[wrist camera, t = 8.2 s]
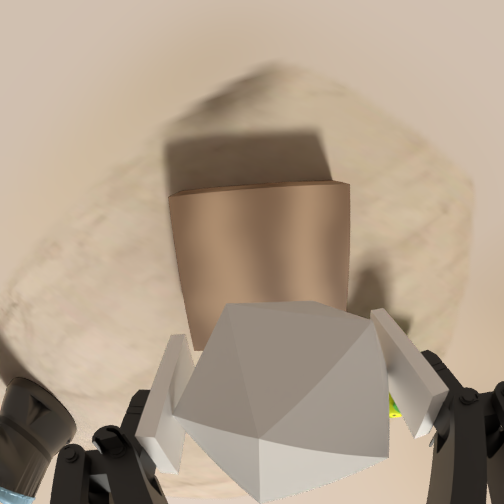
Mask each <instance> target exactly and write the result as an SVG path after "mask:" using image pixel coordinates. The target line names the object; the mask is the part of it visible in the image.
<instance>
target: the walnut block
mask: <svg viewBox="0 0 504 504" xmlns="http://www.w3.org/2000/svg"><path fill="white" fill-rule="evenodd" d="M168 198H169V207H170V215H171V222H172V230H173V237H174V244H175V250H176V257H177V263H178V269H179V275H180V281H181V287H182V292H183V298H184V303H185V308H186V313H187V318H188V323H189V328H190V333H191V338H192V342H193V347H194V351H203V350H204V348H205V346H206V344H207V342H208V340H209V338H210V336H211V334H212V332H213V330H214V328H215V326H216V324H217V322H218V320H219V318H220V316H221V313H222V311H223V309H224V307H225V305H226V303H264V302H291V301H312V300H313V301H316V302H319V303H322V304H324V305H327V306H330V307H333V308H336V309H339V310H342V311H345V312H346V309H347V295H348V279H349V256H350V184H347V183H343V182H338V181H334V180H323V181H298V182H279V183H263V184H249V185H236V186H225V187H214V188H204V189H195V190H186V191H180V192H178V193H176V194H174V195H172V196H169V197H168Z"/></svg>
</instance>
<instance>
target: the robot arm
mask: <svg viewBox="0 0 504 504" xmlns="http://www.w3.org/2000/svg"><path fill="white" fill-rule="evenodd" d="M370 320H373V323H374V326H375V329H376V332H377V335H378V339H379V342H380V345H381V349H382V352H383V355H384V359H385V363H386V366H387V370H388V386H389V393H390V394H391V396H392V398H393V400H394V402H395V404H396V405H397V407H398V409H399V411H400V413H401V415H402V417H403V418H404V420H405V422H406V424H407V426H408V428H409V430H410V432H411V434H412V435H413V437H414V439H416V438H418V437H421V436H423V435H425V434H428V433H429V432H430V430H431V429H432V427H433V425H434V427H435V428H436V430H437V431H436V433H435V435H434V437H433V439H432V440H431V442H430V445H429V447H431V446H432V445H433V443H434V450H433V461H432V470H431V478H430V485H429V491H428V497H427V503H426V504H486V494H487V484H488V487H489V493H490V498H491V503H492V504H504V381H502V382H500V383H498V384H497V386H496V387H495V389H494V391H493V392H487V393H481V394H479V393H478V392H477V391H476V390H474V389H472V388H467V387H466V388H464V387H462V385H461V384H460V383H459V381H458V380H457V379H456V378H455V376H454V375H453V374H452V373H451V372H450V370H449V369H448V368H447V367H446V365H445V364H444V363H442V361H441V359H440V358H439V357H438V356H437V355H436V354H434V353H433V352H431V351H429V350H426V351H423V352H420V351H419V350H418V349H417V348H416V346H415V345H414V344H413V343H412V341H411V340H410V339H409V338H408V336H407V335H406V334H405V333H404V332H403V330H402V329H401V328H400V327H399V326H398V324H397V323H396V322H395V321H394V320H393V318H392V317H391V316H390V315H389V314H388V313H387V311H386V310H385V309H384V308H380V309H375V310H371V311H370ZM194 369H195V367H194V363H193V360H192V357H191V353H190V350H189V346H188V343H187V339H186V335H185V334H180V335H171V336H170V339H169V342H168V344H167V347H166V350H165V352H164V355H163V357H162V360H161V363H160V366H159V368H158V371H157V374H156V376H155V379H154V382H153V385H152V387H151V390H139V391H138V392H137V393H136V394H135V395H134V396H133V397H132V399H131V401H130V404H129V407H128V409H127V411H126V414H125V416H124V419H123V421H122V424H121V427H120V428H119V427H118V426H113V425H108V426H104V427H102V428H99V429H98V430H97V431H96V432H95V433H94V435H93V437H92V443H93V444H94V445H95V446H96V448H97V449H98V450H89V451H85V450H84V449H83V448H82V447H81V446H80V445H78V444H69V443H70V442H71V441H72V439H73V437H74V435H75V433H76V425H75V422H74V420H73V418H72V417H71V415H70V414H69V413H68V411H67V410H66V409H65V408H64V407H63V406H62V405H61V404H60V403H59V402H58V401H57V400H56V399H55V398H54V397H53V396H52V395H51V394H49V393H48V392H47V391H46V390H44V389H43V388H41V387H40V386H38V385H37V384H35V383H33V382H31V381H29V380H27V379H24V378H14V379H13V380H12V381H11V383H10V384H9V385H8V386H7V388H6V393H5V396H4V399H3V402H2V406H1V410H0V502H1V503H3V504H32V502H33V500H35V495H36V493H37V491H38V488H39V486H40V484H41V481H42V479H43V477H44V475H45V472H46V470H47V468H48V466H49V464H50V462H51V459H52V458H53V456H54V455H56V454H57V453H58V452H59V451H60V452H59V454H58V458H57V463H56V468H55V474H54V479H53V486H52V492H51V500H50V504H168V502H167V500H166V498H165V495H164V493H163V491H162V488H161V486H160V484H159V481H158V479H157V477H156V476H155V475H154V474H155V469H156V467H157V468H158V470H159V471H160V472H161V473H169V474H179V469H180V463H181V457H182V451H183V445H184V440H185V434H186V431H185V430H184V428H183V427H182V426H181V425H180V424H179V423H178V421H177V420H176V419H175V418H174V417H173V412H174V410H175V408H176V406H177V404H178V402H179V400H180V398H181V396H182V394H183V392H184V390H185V388H186V385H187V383H188V381H189V379H190V377H191V375H192V373H193V371H194ZM501 426H502V427H501ZM502 428H503V429H502ZM66 444H68V445H66ZM65 445H66V446H65Z"/></svg>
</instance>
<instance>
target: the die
mask: <svg viewBox="0 0 504 504" xmlns="http://www.w3.org/2000/svg"><path fill="white" fill-rule="evenodd" d="M173 417H174V418H175V419H176V420H177V421H178V423H179V424H180V425H181V426H182V427H183V428H184V430H185V431H186V432H187V433H188V434H189V435H190V436H191V438H192V439H193V440H194V441H195V442H196V443H197V444H198V445H199V446H200V447H201V449H202V450H203V451H204V452H205V453H206V454H207V455H208V456H209V457H210V458H211V459H212V460H213V461H214V462H215V463H216V464H217V465H218V466H219V467H220V468H221V469H222V470H223V471H224V472H225V473H226V474H227V475H228V476H229V477H230V478H231V479H232V480H234V481H235V482H236V483H237V484H238V485H239V486H240V487H241V488H242V489H243V490H245V491H246V492H247V493H248V494H249V495H250V496H251V497H253V498H254V499H255V500H256V501H257V502H259V503H260V504H262V503H266V502H270V501H274V500H278V499H282V498H286V497H290V496H293V495H297V494H300V493H303V492H307V491H310V490H313V489H316V488H319V487H322V486H324V485H327V484H330V483H333V482H335V481H338V480H340V479H343V478H345V477H348V476H350V475H352V474H355V473H357V472H360V471H362V470H364V469H366V468H369V467H370V466H373V465H375V464H377V463H379V462H381V461H383V460H385V459H387V458H389V386H388V370H387V366H386V363H385V359H384V355H383V352H382V349H381V345H380V342H379V339H378V335H377V332H376V329H375V326H374V323H373V320H370V319H367V318H364V317H360V316H357V315H354V314H351V313H348V312H345V311H342V310H339V309H336V308H333V307H330V306H327V305H324V304H322V303H319V302H316V301H313V300H312V301H291V302H264V303H226V305H225V307H224V309H223V311H222V313H221V316H220V318H219V320H218V322H217V324H216V326H215V328H214V330H213V332H212V334H211V336H210V338H209V340H208V342H207V344H206V346H205V348H204V350H203V353H202V355H201V357H200V359H199V361H198V363H197V365H196V367H195V369H194V371H193V373H192V375H191V377H190V379H189V381H188V383H187V385H186V388H185V390H184V392H183V394H182V396H181V398H180V400H179V402H178V404H177V406H176V408H175V410H174V412H173Z"/></svg>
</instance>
